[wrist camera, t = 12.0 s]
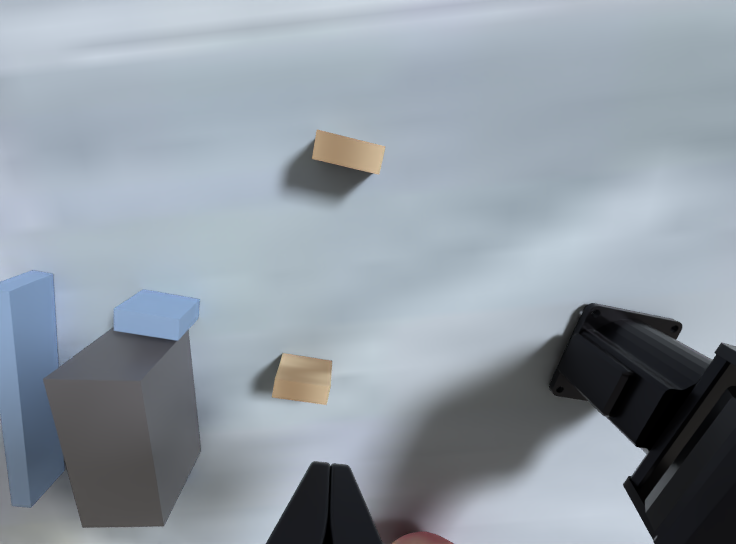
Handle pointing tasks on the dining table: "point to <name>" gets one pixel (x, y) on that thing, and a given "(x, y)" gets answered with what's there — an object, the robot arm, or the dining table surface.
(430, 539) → the decorative fruit
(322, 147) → the tan wooden block
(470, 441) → the dining table surface
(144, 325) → the separate blue rectangular blocks
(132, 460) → the tall grey block
